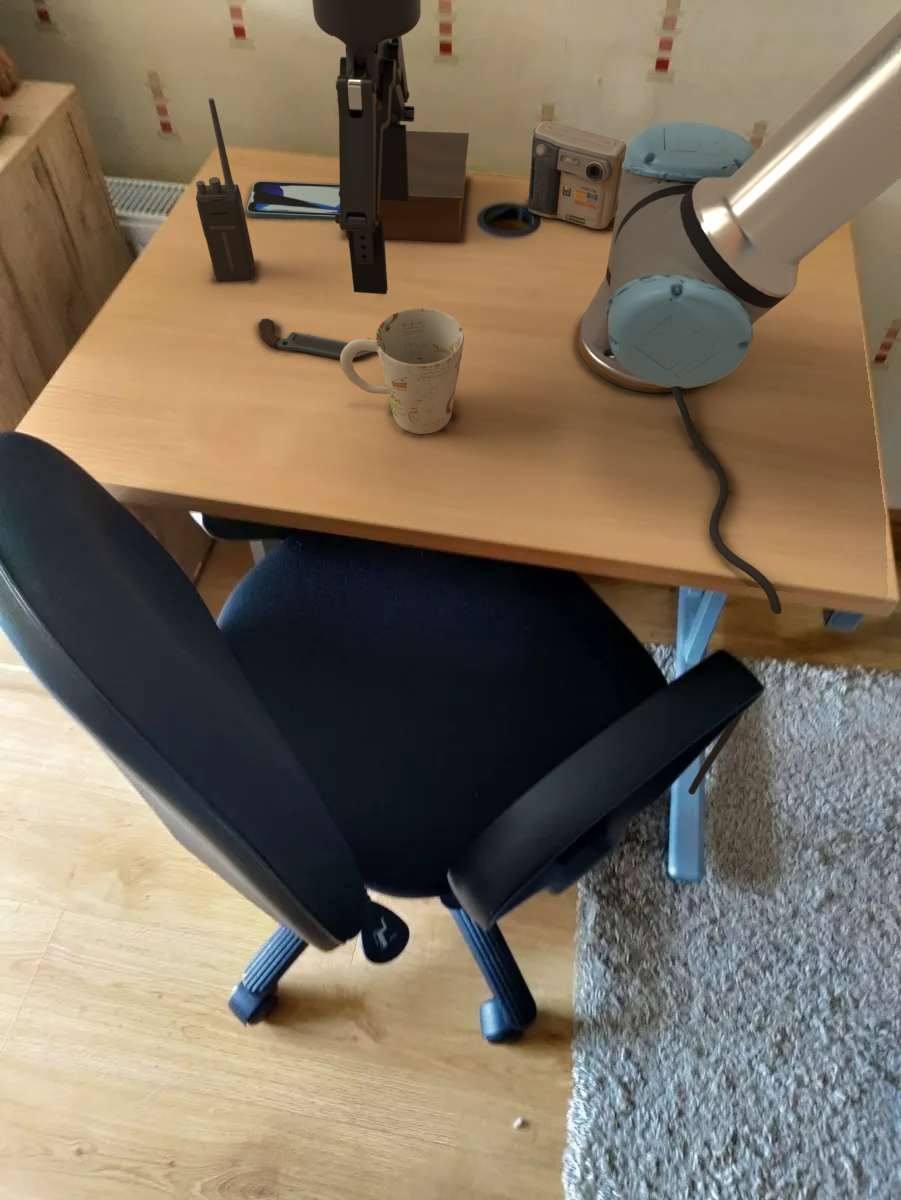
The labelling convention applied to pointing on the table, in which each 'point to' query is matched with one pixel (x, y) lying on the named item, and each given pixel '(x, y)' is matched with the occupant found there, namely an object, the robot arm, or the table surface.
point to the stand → (430, 189)
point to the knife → (304, 342)
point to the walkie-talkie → (225, 219)
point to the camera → (575, 175)
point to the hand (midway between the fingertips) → (382, 242)
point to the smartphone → (293, 200)
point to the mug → (414, 366)
